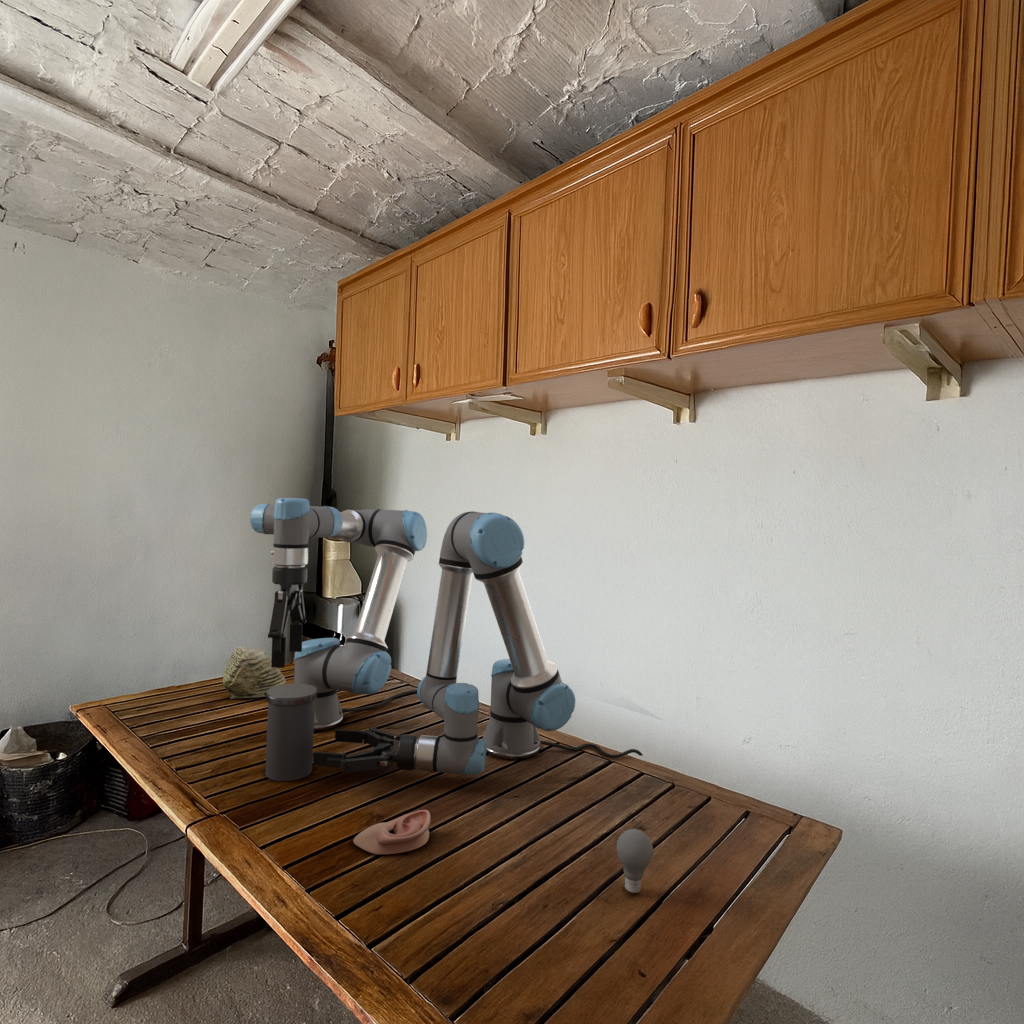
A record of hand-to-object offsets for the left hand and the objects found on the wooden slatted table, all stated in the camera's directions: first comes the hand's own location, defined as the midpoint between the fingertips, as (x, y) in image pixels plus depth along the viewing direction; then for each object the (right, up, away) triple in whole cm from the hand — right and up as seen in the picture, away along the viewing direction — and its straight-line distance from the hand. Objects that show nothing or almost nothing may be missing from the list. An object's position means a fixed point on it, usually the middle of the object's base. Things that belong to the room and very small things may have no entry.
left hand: (287, 659), depth 144 cm
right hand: (+9, -20, 0) cm, 22 cm away
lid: (+1, -8, +1) cm, 8 cm away
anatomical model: (+29, -28, -26) cm, 48 cm away
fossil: (-29, -24, +54) cm, 66 cm away
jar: (0, -26, +1) cm, 26 cm away
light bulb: (+71, -30, -38) cm, 86 cm away
